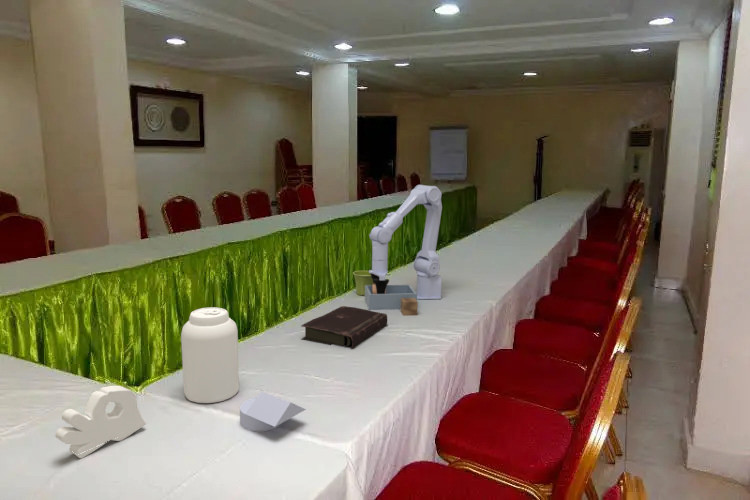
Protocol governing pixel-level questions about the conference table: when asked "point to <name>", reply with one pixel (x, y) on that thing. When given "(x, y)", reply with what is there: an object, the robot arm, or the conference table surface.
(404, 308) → the walnut cube
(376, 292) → the terracotta cylinder
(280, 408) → the wedge on round base
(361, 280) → the plant pot
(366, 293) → the box
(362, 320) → the diary
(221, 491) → the conference table surface
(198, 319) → the can
